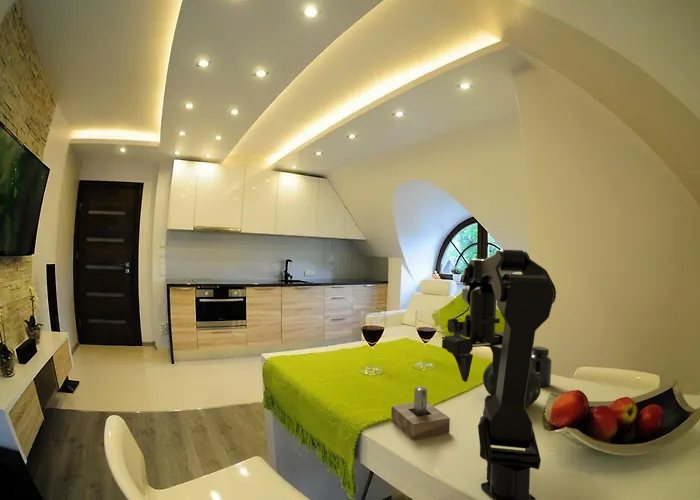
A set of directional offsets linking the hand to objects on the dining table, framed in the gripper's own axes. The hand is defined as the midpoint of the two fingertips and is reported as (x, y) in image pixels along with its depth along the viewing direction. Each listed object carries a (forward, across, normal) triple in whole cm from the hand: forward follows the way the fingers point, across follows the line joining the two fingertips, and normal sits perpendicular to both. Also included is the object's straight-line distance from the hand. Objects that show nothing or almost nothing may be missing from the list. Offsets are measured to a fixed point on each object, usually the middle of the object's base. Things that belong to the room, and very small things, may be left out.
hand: (480, 379), depth 83 cm
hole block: (+13, +11, -8) cm, 19 cm away
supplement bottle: (+13, -44, -20) cm, 50 cm away
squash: (+13, -23, -12) cm, 29 cm away
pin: (+13, +11, -8) cm, 19 cm away
